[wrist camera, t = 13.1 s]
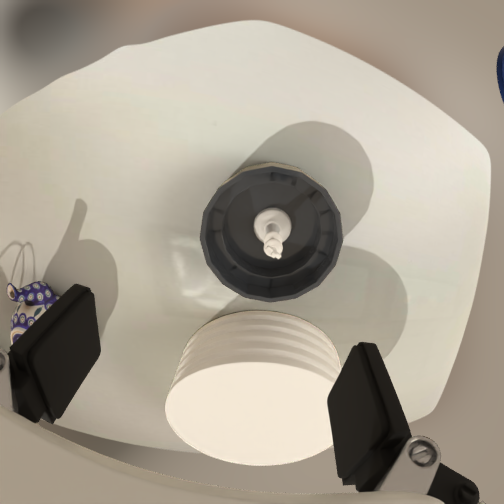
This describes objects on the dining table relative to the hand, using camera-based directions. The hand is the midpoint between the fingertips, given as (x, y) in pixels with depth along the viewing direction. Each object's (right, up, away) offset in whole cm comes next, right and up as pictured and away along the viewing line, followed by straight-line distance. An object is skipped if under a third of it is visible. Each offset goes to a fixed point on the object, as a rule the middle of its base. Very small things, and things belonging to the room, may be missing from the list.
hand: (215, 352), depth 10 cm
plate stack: (+3, -18, +40) cm, 44 cm away
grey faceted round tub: (+4, +7, +30) cm, 31 cm away
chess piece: (+4, +7, +29) cm, 30 cm away
